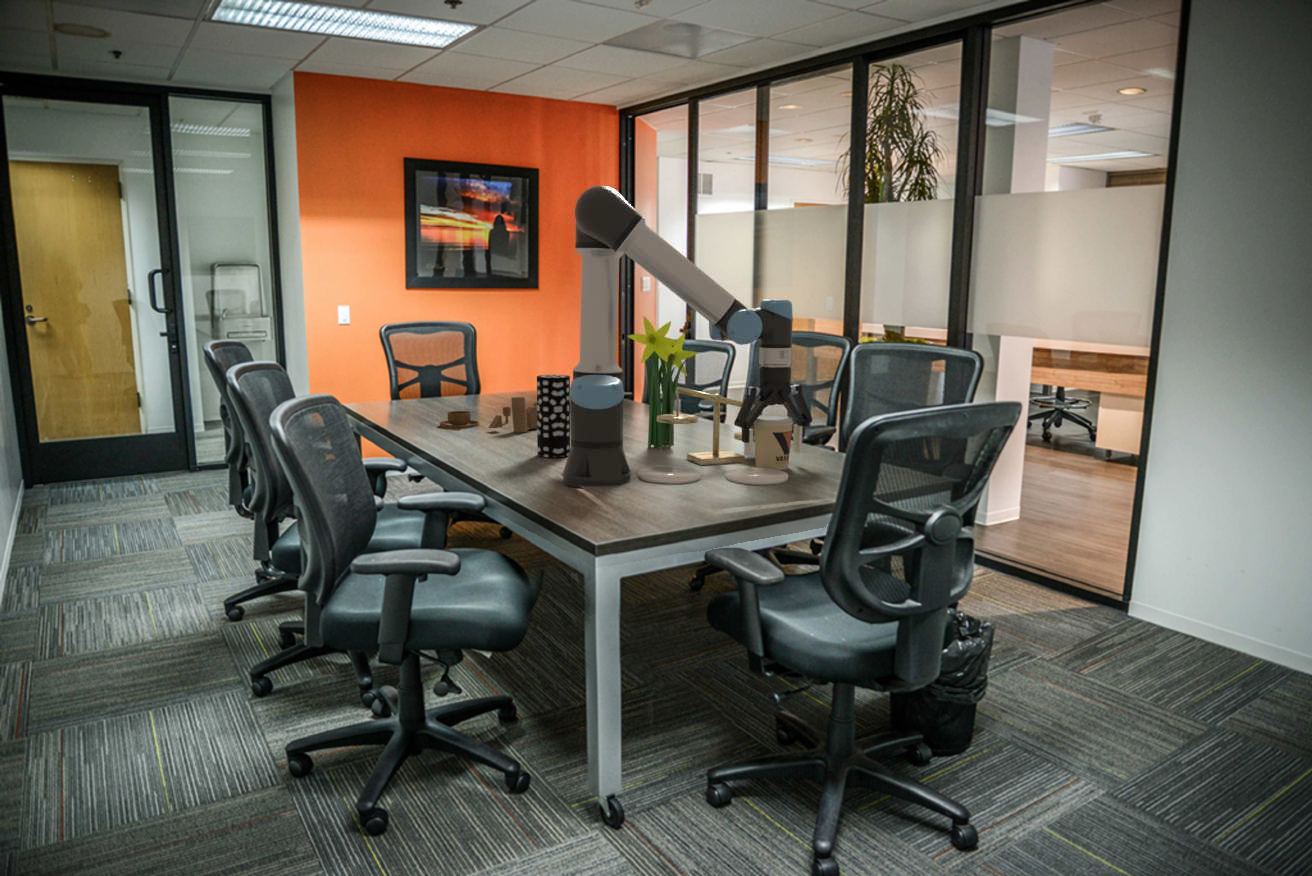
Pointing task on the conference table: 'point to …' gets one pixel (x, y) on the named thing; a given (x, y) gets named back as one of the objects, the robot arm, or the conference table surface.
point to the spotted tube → (553, 415)
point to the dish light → (669, 475)
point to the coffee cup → (772, 441)
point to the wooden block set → (519, 416)
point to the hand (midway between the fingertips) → (773, 454)
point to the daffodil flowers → (661, 378)
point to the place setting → (466, 419)
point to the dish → (756, 476)
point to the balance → (716, 455)
